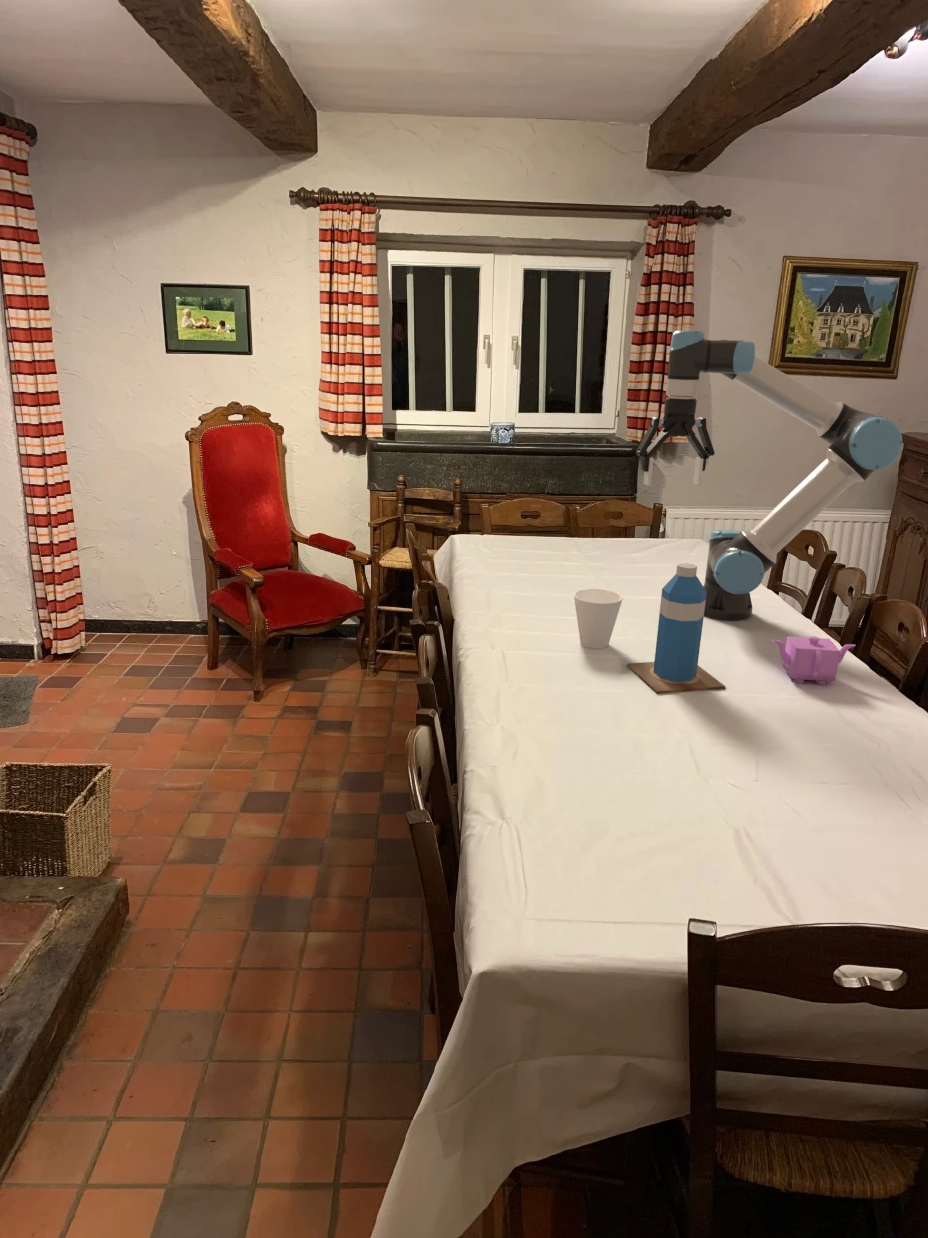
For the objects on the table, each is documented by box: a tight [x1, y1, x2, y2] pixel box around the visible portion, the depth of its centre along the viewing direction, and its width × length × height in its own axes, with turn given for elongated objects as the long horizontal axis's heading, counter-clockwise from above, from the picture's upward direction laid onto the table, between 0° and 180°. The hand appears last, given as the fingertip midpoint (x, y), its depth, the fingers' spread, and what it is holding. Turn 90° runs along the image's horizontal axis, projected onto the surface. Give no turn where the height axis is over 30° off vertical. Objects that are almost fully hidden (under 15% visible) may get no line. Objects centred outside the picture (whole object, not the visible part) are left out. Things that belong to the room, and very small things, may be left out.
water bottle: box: [653, 562, 707, 682], centre depth 182 cm, size 9×9×25 cm
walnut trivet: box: [626, 661, 726, 695], centre depth 187 cm, size 16×16×1 cm
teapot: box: [771, 635, 857, 686], centre depth 187 cm, size 18×13×10 cm
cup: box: [573, 588, 624, 650], centre depth 204 cm, size 12×12×12 cm
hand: (672, 484), depth 211 cm, fingers open, 13 cm apart
